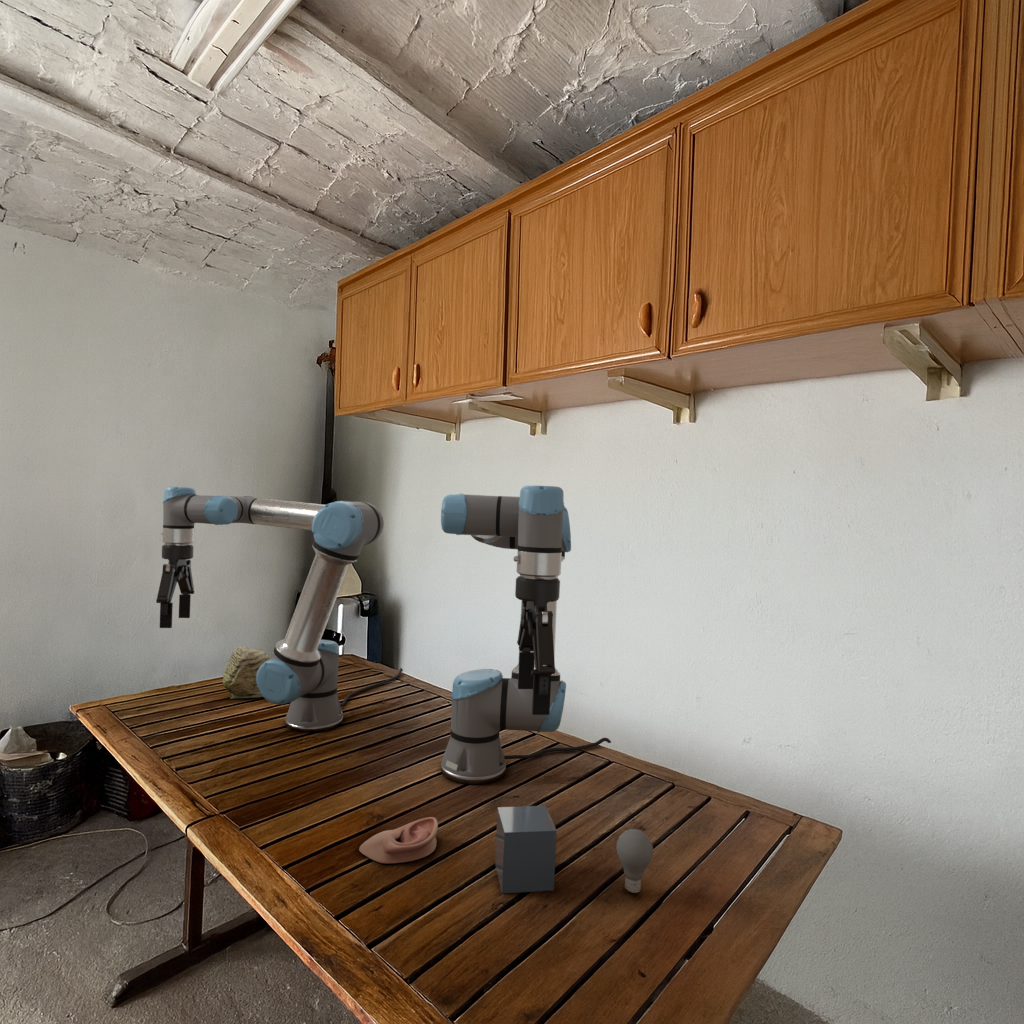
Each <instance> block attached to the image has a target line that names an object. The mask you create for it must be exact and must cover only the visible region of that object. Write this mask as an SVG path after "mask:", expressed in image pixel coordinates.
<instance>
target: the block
mask: <svg viewBox="0 0 1024 1024" xmlns="http://www.w3.org/2000/svg"><path fill="white" fill-rule="evenodd" d="M495 832H496V833H495V853H494V854H495V856H494V867H495V870H496V874H497V879H498V883H499V888H500V892H501V894H517V893H533V892H552V891H555V876H556V875H555V873H556V856H557V855H556V854H557V852H556V851H557V828H556V826H555V824H554V821H553V819H552V816H551V813H550V812H549V810H548V807H547V806H546V805H528V806H525V805H524V806H498V807H497V809H496V831H495Z"/></svg>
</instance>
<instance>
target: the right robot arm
mask: <svg viewBox="0 0 1024 1024" xmlns="http://www.w3.org/2000/svg"><path fill="white" fill-rule="evenodd" d="M564 499H565V498H564V490H563V488H562V487H560V486H554V485H533V484H532V485H531V484H530V485H523V486H522V487H521V488H520V492H519V496H511V495H510V496H509V495H508V496H507V495H485V494H484V495H481V494H464V493H448V494H446V495H445V496H444V497H443V499H442V503H441V508H440V527H441V530H442V531H443V532H444V533H445V534H449V535H456V536H471V537H472V538H473V539H474V540H475V541H477V542H479V543H482V544H485V545H488V546H491V547H495V548H499V549H505V550H517V555H515V556H514V557H513V561H514V562H515V563H516V573H517V574H518V575H519V576H517V577H516V578H515V589H514V590H515V591H514V592H515V593H514V596H515V598H516V599H517V600H520V601H521V602H520V621H519V629H518V636H517V640H516V644H517V646H518V662H517V664H516V666H515V667H513V669H512V670H511V677H510V678H507V677H504V675H503V674H502V673H503V672H501V671H500V670H498V669H492V668H480V669H478V668H477V669H472V670H468V671H465V672H462V673H460V674H458V675H457V676H456V677H455V678H454V679H453V681H452V691H451V695H450V698H451V711H450V712H451V713H450V731H449V736H450V737H449V739H448V742H447V745H446V747H445V750H444V753H443V755H442V759H441V763H440V772H441V774H442V775H443V776H444V777H445V778H446V779H448V780H450V781H453V782H456V783H460V784H465V785H481V784H482V785H484V784H489V783H493V782H496V781H498V780H500V779H501V778H503V777H504V776H505V774H506V770H507V763H506V760H526V759H527V760H528V759H533V758H536V757H538V756H541V755H544V754H547V753H553V752H573V751H574V752H575V751H581V750H586V749H591V748H594V747H595V748H596V747H597V746H599V745H601V744H602V743H605V742H606V743H608V744H611V743H612V741H611V739H610V738H608V737H602V738H600V739H598V740H596V741H595V742H592V743H587V744H583V745H577V746H569V747H568V746H567V747H549V748H544V749H541V750H539V751H536V752H533V753H528V754H509V755H504V751H503V747H502V744H501V740H500V731H501V730H506V731H507V730H508V731H520V732H521V731H522V732H523V731H525V732H536V733H553V732H556V731H557V730H558V729H559V728H560V725H561V722H562V717H563V712H564V707H565V700H566V699H565V698H566V692H567V691H566V690H567V682H566V681H564V680H561V672H560V671H559V669H557V667H556V664H555V658H556V657H555V656H556V635H557V634H556V633H557V607H558V600H559V599H560V593H561V592H560V591H561V590H560V589H561V579H560V578H559V576H561V574H562V562H563V561H564V560H566V558H565V556H566V553H570V552H571V551H572V536H571V535H572V533H571V524H570V515H569V511H568V509H567V507H566V506H565V502H564V501H565V500H564Z"/></svg>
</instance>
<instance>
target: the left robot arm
mask: <svg viewBox="0 0 1024 1024" xmlns="http://www.w3.org/2000/svg"><path fill="white" fill-rule="evenodd" d="M162 517H163V518H162V523H163V524H162V531H160V534H161V535H162V540H161V541H162V543H163V544H162V546H161V559H163V560H168V563H164V564H162V573H161V578H160V582H159V586H158V592H157V596H156V600H155V602H156V603H157V604H160V605H159V629H172V628H173V608H174V607H173V605H174V604H173V602H172V600H173V596H174V593H175V590H176V587H177V585H178V589H179V591H180V594H179V596H178V600H179V601H178V619H190V618H191V597H192V596H191V595H194V594H195V585H194V579H193V573H192V561H191V559H193V558H194V545H193V544H194V542H195V524H206V525H208V524H209V525H215V526H219V525H220V526H225V525H231V524H249V525H260V526H268V527H277V528H285V529H294V530H302V531H310V532H311V533H312V534H313V539H314V540H313V543H312V546H311V547H312V549H313V551H314V552H315V555H314V558H313V561H312V563H311V566H310V569H309V572H308V574H307V577H306V579H305V582H304V585H303V588H302V589H301V593H300V596H299V598H298V601H297V604H296V607H295V609H294V612H293V615H292V617H291V620H290V623H289V626H288V628H287V632H286V634H285V637H284V638H283V639H281V640H279V641H277V642H276V644H275V646H274V648H273V651H272V653H271V657H270V658H271V659H270V660H268V661H266V662H264V663H263V664H262V665H261V666H260V668H259V669H258V672H257V676H256V682H257V687H258V688H259V690H260V693H261V694H262V696H263V697H262V698H264V699H265V700H266V701H267V702H269V703H271V704H274V705H281V706H282V705H286V704H289V705H288V711H287V713H286V715H285V726H286V728H287V729H289V730H291V731H294V732H295V731H296V732H301V733H316V732H325V731H329V730H332V729H335V728H337V727H339V726H340V725H342V723H343V722H344V714H343V709H342V706H344V705H345V704H346V703H347V701H348V699H350V698H351V697H352V696H354V695H356V694H359V693H361V692H363V691H364V692H365V691H366V690H370V689H372V688H375V687H378V686H381V685H384V684H387V683H389V682H392V681H394V680H396V679H398V678H399V677H400V676H401V675H402V672H404V670H403V668H402V667H401V668H399V671H398V673H397V674H396V675H395V676H393V677H390V678H388V679H386V680H383V681H380V682H377V683H374V684H371V685H368V686H365V687H363V688H359V689H357V690H355V691H353V692H351V693H349V694H348V695H346V696H345V697H344V699H343V701H342V702H340V699H339V695H338V682H339V662H340V661H339V660H340V652H339V651H340V650H339V648H340V646H339V643H337V641H335V640H330V639H322V637H323V635H324V632H325V630H326V628H327V624H328V621H329V620H330V616H331V614H332V611H333V609H334V606H335V603H336V601H337V598H338V595H339V593H340V590H341V587H342V585H343V582H344V580H345V576H346V574H347V571H348V568H349V567H350V565H351V564H353V563H356V562H358V559H359V556H360V554H361V552H362V549H363V546H367V545H370V544H372V543H374V542H375V541H377V540H378V539H379V537H380V536H381V534H382V533H383V529H384V525H385V523H384V516H383V515H382V512H381V511H380V510H379V508H378V507H376V506H375V505H374V504H372V503H370V502H367V501H347V500H337V501H336V500H335V501H334V502H330V503H327V504H320V503H312V502H304V501H303V502H301V501H291V500H283V499H271V498H262V497H255V496H250V495H249V496H248V495H243V496H233V495H202V494H201V495H199V494H196V489H195V487H189V486H188V487H187V486H167V487H165V489H164V493H163V501H162Z"/></svg>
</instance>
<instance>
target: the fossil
mask: <svg viewBox="0 0 1024 1024" xmlns="http://www.w3.org/2000/svg"><path fill="white" fill-rule="evenodd" d="M270 659H271V657H270V656H269V655H268V654H267V653H266V652H265V650H264V649H263V648H260V647H258V648H251V647H247V646H246V647H245V646H238V647H237V648H236V649H235V650H233V651H232V653H231V656H230V657H229V659H228V660H227V663H226V666H225V668H224V671H223V675H222V676H223V677H222V685H223V687H224V688H225V690H226V691H228V693H229V698H230V699H250V698H264V697H263V696H262V694H261V693H260V690H259V688H258V687H257V682H256V676H257V672H258V669H259V668H260V666H261V665H262V664H263V663H264V662H266V661H268V660H270Z"/></svg>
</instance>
